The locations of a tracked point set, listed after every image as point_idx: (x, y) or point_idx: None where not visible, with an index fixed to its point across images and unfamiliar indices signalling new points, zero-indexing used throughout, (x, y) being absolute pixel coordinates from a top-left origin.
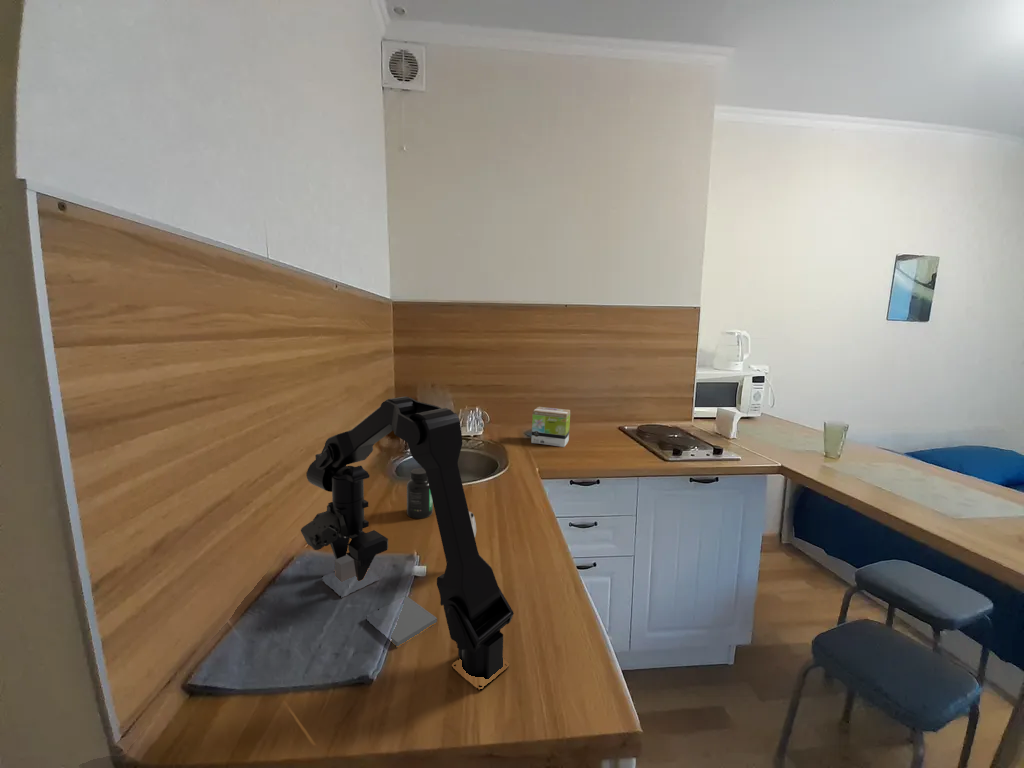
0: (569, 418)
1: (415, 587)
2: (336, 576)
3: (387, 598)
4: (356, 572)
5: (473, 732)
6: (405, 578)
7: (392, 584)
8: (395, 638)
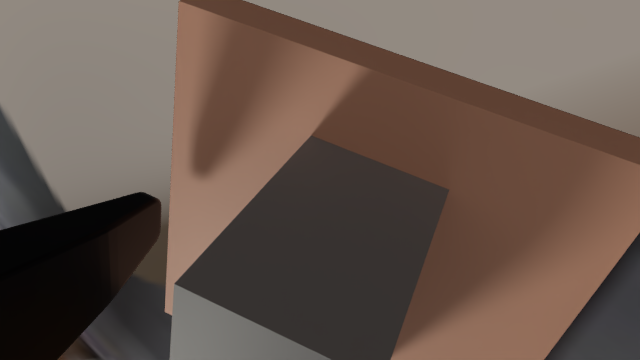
0: None
1: None
2: (409, 200)
3: (15, 147)
4: (54, 233)
5: None
6: (112, 333)
7: None
8: None
